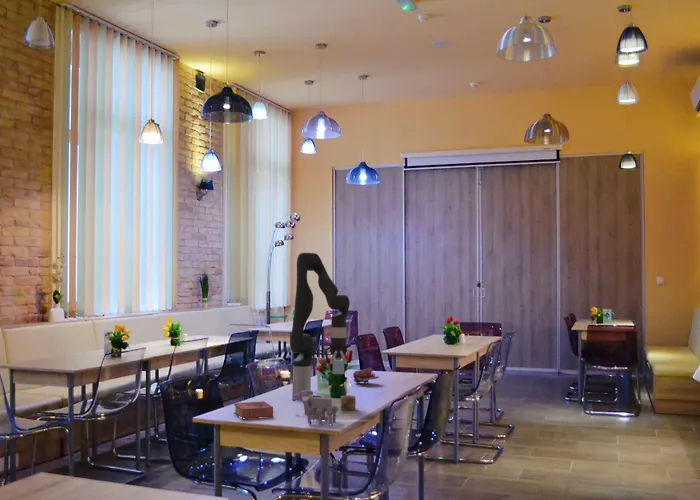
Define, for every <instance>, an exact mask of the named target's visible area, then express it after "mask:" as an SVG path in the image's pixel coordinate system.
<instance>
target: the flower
mask: <svg viewBox="0 0 700 500" xmlns="http://www.w3.org/2000/svg"><path fill="white" fill-rule="evenodd" d="M352 374H353V377H352V378H353V381H354V382H355V384H359V385H361V383H362V382H363V383H364V385H366V383H367V384H369V380H376V379H377V380H378V379H379V378H380V376H378V375H377V376H376V373H374V372H373V368H372V367H367V368H363V369H361V370H359V369H358V370H355V371H354V373H352Z"/></svg>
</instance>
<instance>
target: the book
mask: <svg viewBox="0 0 700 500" xmlns="http://www.w3.org/2000/svg"><path fill="white" fill-rule="evenodd" d="M233 405H234V406H235V408H234V409H235V412H233V415H235V414H236V415H235V416H237V417H238V416H240V417H242V419H243V418H256V419H260V418H259V417H269V418H274V407H273V405H271V404H269V403H267V402H266V401H264V400H263V401H262V400H261V401H260V400H259V401H247V402H234V403H233ZM242 419H241V420H242ZM243 420H244V419H243Z"/></svg>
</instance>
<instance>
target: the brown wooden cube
mask: <svg viewBox="0 0 700 500" xmlns="http://www.w3.org/2000/svg"><path fill="white" fill-rule="evenodd" d="M356 400H357V399H356V395H341V396H340V404H341V411H355V410H356V402H357V401H356Z"/></svg>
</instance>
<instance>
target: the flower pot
mask: <svg viewBox="0 0 700 500" xmlns="http://www.w3.org/2000/svg"><path fill="white" fill-rule="evenodd" d="M313 397H320V398H323V396H322V395H321V396H320V395H316V394H313ZM311 403H312V402H311ZM303 407H304V406H303ZM311 407H312V406H311ZM307 408H308V407H304V416H307V413H306V409H307ZM312 414H313V412H312ZM312 414H311V416H312ZM315 416H318V415H317V413H316V415H315Z"/></svg>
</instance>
